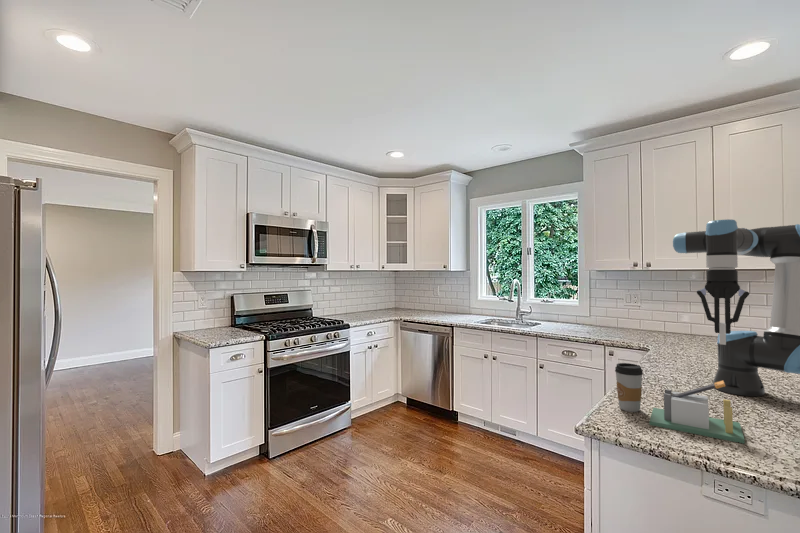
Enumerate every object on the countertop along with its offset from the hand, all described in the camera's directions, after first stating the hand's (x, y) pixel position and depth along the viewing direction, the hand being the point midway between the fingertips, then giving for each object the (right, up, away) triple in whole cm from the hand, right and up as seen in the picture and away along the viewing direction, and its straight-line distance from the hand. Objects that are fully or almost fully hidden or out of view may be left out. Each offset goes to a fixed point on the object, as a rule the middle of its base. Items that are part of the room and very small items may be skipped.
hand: (722, 343), depth 119 cm
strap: (-11, -15, -2) cm, 18 cm away
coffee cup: (-22, -25, +12) cm, 36 cm away
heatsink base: (-11, -25, -2) cm, 27 cm away
